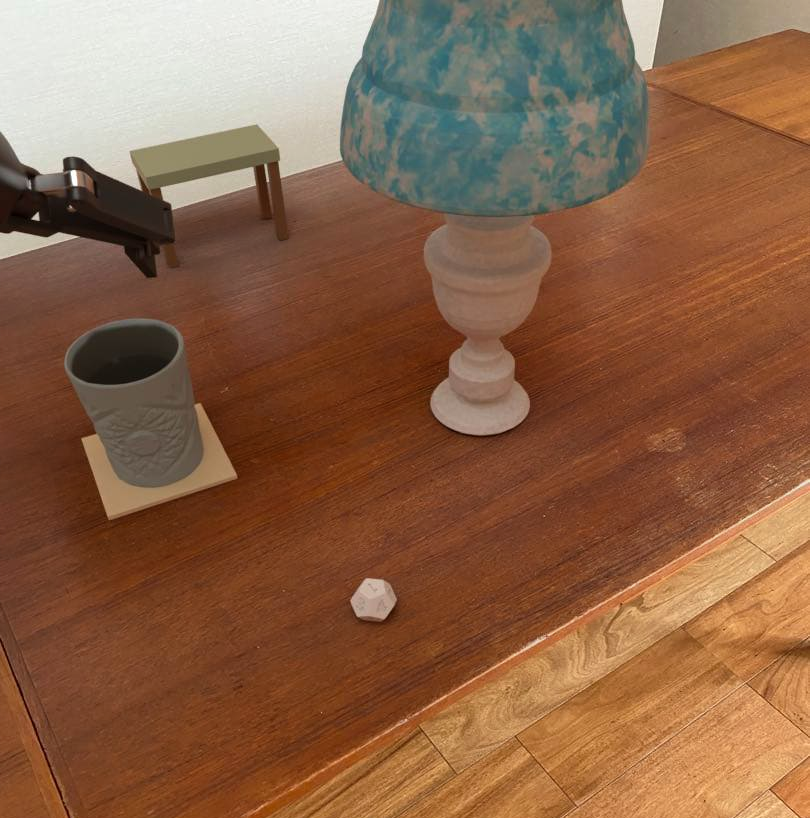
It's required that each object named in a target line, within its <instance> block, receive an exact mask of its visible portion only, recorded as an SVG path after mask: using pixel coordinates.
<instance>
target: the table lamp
mask: <svg viewBox="0 0 810 818" xmlns="http://www.w3.org/2000/svg"><path fill="white" fill-rule="evenodd" d="M378 1H379V2H378V4H377V8H376V12H375V16H374V18H373V20H372V23H371V25H370V28H369V30H368V33H367V34H366V35H367V36H366V38H365V40H364V43H363V45H362V50H361V51H362V52H361V58H359V60H358V61H357V62H356V64H355V65H354V67H353V70H352V72H351V74H350V77H349V80H348V83H347V85H346V90H345V95H344V101H343V106H342V113H341V121H340V129H339V130H340V131H339V133H340V134H339V153H340V156H341V157H340V158H341V159H342V161H343V165H344V167H345V168H346V169H347V170H348V171H349V173H350V174H351V175H352V176H353V177H354V178H355V179H356V181H358V182H360V183H361V184H363V185H364V186H365V187H367V188H368V189H370V190H371V191H372V192H374V193H377V194H378V195H380V196H383V197H385V198H387V199H389V200H391V201H394V202H398V203H401V204H404V205H406V206H410V207H412V208H416V209H421V210H426V211H430V212H434V213H439V214H443V217H444V221H445V224H444V225H441V226H439V227H438V228H437V229H435V230H434V231H432V232H431V234H430V235H429V236H428V237H427V239H426V241H425V243H424V246H423V263H424V266H425V268H426V270H427V272H428V274H430V277H431V285H432V293H433V296H434V297H433V298H434V300H435V303H436V306H437V309H438V311H439V313H440V314H441V315H442V318H443V319H444V321H445V322H446V323H447V324H448V325H449V326H450V327H451V328H452V329H454V330H455V331H456V332H459V333H460V334H462V335H464V336H465V337H466V339H465V340H464V342H463V343H462V344H461V347H459V348H457V349H456V350H455V351H454V352H452V354H451V355H450V357H449V359H448V377H446V378H445V379H444V380H443V381H442V382H439V384H438V386H436V387H435V389H434V390H433V391H432V394H431V397H430V402H429V403H430V404H429V405H430V409H431V413H433V415H434V417H435V418H436V419H437V420H438V421H439V422H440V423H441V424H442V425H444V426H445V427H447V428H449V429H451V430H453V431H456V432H458V433H460V434H463V435H471V436H478V437H484V436H491V435H492V436H493V435H499V434H501V433H504V432H506V431H508V430H511V429H513V428H515V427H516V426H518V425H519V424H521V423H522V422H523V421H524V420H525V419H526V417H527V416H528V414H529V412H530V408H531V400H530V397H529V395H528V392H527V391H526V390H525V389H524V387H523V386H522V384H520V383H519V382H518V381H517V380H516V379H515V371H516V370H515V369H516V360H515V358H514V356H513V355H512V353H511V352H510V351H508V349H505V346H504V344H503V343H502V342H501V340H500V338H502V337H504V336H505V335H508V334H510V333H511V332H514V330H516V329H517V328H518V327H519V326H521V325H522V324H523V323H524V322H525V321H526V319H527V318H528V317H529V316H530V313H531V312H532V311H533V309H534V306H535V304H536V302H537V298H538V294H539V290H540V286H541V281H542V278H543V277H544V276H545V275H546V274H547V272H548V271H549V268H550V265H551V262H552V255H553V252H552V245H551V243H550V240H549V239H548V237H547V236H546V235H545V234H544V233H543V232H542V231H541V230H539V229H537V228H536V227H535V226H533V225H532V224H533V223H534V220H535V216H536V215H544V214H545V215H546V214H550V213H557V212H561V211H566V210H570V209H574V208H578V207H582V206H584V205H585V206H586V205H587V204H590V203H594V202H596V201H599V200H602V199H604V198H606V197H607V196H609V195H611V194H614V193H615V192H617V191H619V190H621V189H622V188H624V187H625V186H627V184H629V183H630V182H631V181H632V180H634V179H635V178H636V177H637V176H638V175H639V174H640V172H642V170H643V168H644V167H645V166H646V163H647V160H648V156H649V153H650V148H651V113H650V106H649V105H650V102H649V92H648V86H647V80H646V77H645V73H644V71H643V68H641V66H640V64H639V63H638V61H637V60H636V50H635V43H634V39H633V37H632V33H631V30H630V27H629V24H628V20H627V16H626V14H625V10H624V5H623V0H378Z"/></svg>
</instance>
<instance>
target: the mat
mask: <svg viewBox="0 0 810 818" xmlns="http://www.w3.org/2000/svg"><path fill="white" fill-rule="evenodd" d="M194 407H195V409H196V411H197V416H198V422H199V428H200V433H201V437H202V442H203V449H204V451H203V456H202V460H201V462H200V464H199V465H198V467H197V468H196V469H195V470H194V471H193V472H192V473H191V474H190V475H188V476H187V477H185V478H184V479H182V480H180V481H178V482H175V483H173V484H170V485H166V486H162V487H154V488H151V487H149V488H147V487H138V486H134V485H130V484H128V483H125V482H124V481H123V480H121V479H119V477H118V476H117V475H116V473H115V472H114V470H113V468H112V466H111V464H110V462H109V460H108V457H107V454H106V451H105V447H104V445H103V444H102V442H101V440H100V438H99V436H98V434H97V433H93V434H91V435H87V436H84V437H81V438H80V439H81V442H82V445H83V448H84V451H85V454H86V457H87V460H88V463H89V466H90V469H91V472H92V474H93V477H94V481H95V484H96V488H97V489H98V493H99V495H100V498H101V502H102V504H103V508H104V511H105V513H106V516H107V519H108V521H111V520H115V519H118V518H121V517H125V516H128V515H130V514H134V513H136V512H139V511H142V510H145V509H149V508H152V507H155V506H158V505H161V504H164V503H168V502H171V501H173V500H176V499H180V498H183V497H186V496H189V495H191V494H194V493H198V492H201V491H204V490H207V489H211V488H214V487H216V486H219V485H223V484H226V483H228V482H232V481H234V480H237V479H238V474H237V472H236V470H235V468H234V466H233V464H232V463H231V460H230V458H229V456H228V455H227V453H226V451H225V448H224V446H223V445H222V443H221V440H220V439H219V437H218V434H217V433H216V431H215V429H214V427H213V424H212V423H211V421H210V419H209V416H208V415H207V412H206V411H205V409H204V406H203V405H202V403H201V402H198V403H195V405H194Z"/></svg>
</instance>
